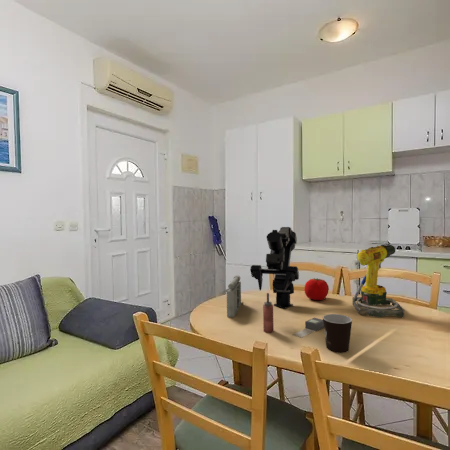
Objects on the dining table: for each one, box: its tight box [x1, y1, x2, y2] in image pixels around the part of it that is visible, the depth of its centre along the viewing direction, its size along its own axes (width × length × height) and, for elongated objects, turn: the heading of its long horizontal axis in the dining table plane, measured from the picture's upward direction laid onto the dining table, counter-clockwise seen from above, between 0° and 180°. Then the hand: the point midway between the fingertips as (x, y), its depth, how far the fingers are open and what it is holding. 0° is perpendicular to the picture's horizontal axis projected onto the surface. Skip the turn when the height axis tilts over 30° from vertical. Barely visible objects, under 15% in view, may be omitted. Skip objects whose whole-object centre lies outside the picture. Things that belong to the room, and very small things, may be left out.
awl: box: [262, 292, 275, 334], centre depth 113 cm, size 4×4×14 cm
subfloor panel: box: [292, 328, 315, 339], centre depth 116 cm, size 15×16×1 cm
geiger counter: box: [221, 274, 242, 318], centre depth 143 cm, size 14×6×25 cm
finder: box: [304, 317, 324, 332], centre depth 115 cm, size 6×4×3 cm
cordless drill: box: [351, 244, 405, 318], centre depth 135 cm, size 18×19×28 cm
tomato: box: [303, 278, 330, 301], centre depth 154 cm, size 12×12×10 cm
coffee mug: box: [322, 313, 353, 354], centre depth 99 cm, size 12×9×10 cm
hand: (271, 290), depth 120 cm, fingers open, 9 cm apart
